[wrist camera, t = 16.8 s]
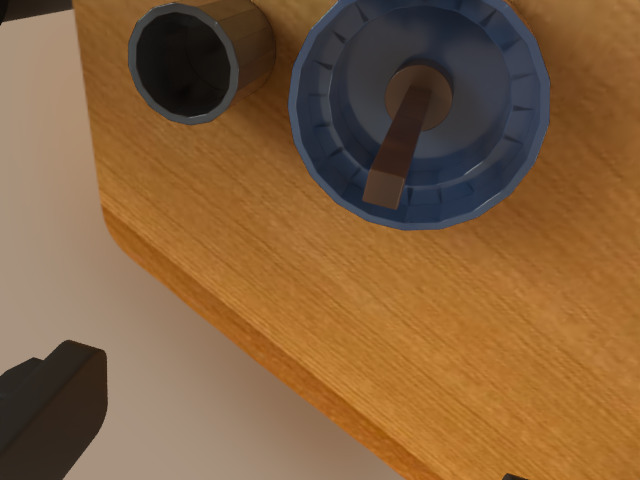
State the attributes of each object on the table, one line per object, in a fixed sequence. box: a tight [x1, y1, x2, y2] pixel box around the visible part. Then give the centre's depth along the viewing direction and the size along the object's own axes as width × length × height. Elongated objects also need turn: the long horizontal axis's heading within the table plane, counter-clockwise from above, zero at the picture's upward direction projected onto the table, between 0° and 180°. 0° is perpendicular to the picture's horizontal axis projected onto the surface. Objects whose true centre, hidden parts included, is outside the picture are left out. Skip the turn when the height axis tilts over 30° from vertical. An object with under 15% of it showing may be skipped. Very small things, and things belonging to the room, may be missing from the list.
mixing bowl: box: [288, 0, 550, 231], centre depth 35 cm, size 14×14×6 cm
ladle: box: [363, 59, 454, 210], centre depth 30 cm, size 4×4×16 cm
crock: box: [128, 0, 276, 125], centre depth 36 cm, size 7×7×7 cm
